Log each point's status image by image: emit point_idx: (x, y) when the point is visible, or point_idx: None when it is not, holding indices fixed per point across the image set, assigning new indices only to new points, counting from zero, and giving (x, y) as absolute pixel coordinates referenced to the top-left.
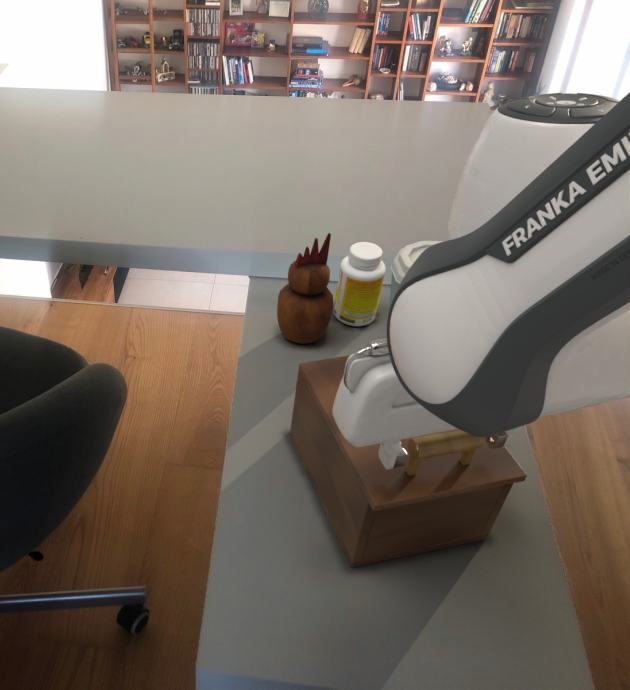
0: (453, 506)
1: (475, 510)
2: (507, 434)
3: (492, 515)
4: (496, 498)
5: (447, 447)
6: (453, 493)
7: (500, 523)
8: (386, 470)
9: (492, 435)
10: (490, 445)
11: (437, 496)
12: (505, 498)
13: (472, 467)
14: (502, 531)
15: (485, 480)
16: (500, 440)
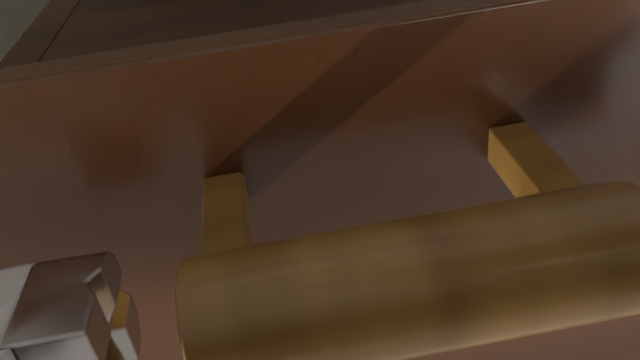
0: (249, 21)
1: (139, 19)
2: (6, 354)
3: (59, 15)
4: (52, 50)
5: (463, 255)
6: (340, 17)
7: (9, 32)
8: (602, 154)
9: (107, 339)
10: (114, 272)
11: (429, 5)
12: (10, 52)
13: (196, 159)
14: (8, 3)
15: (154, 78)
16: (59, 306)
